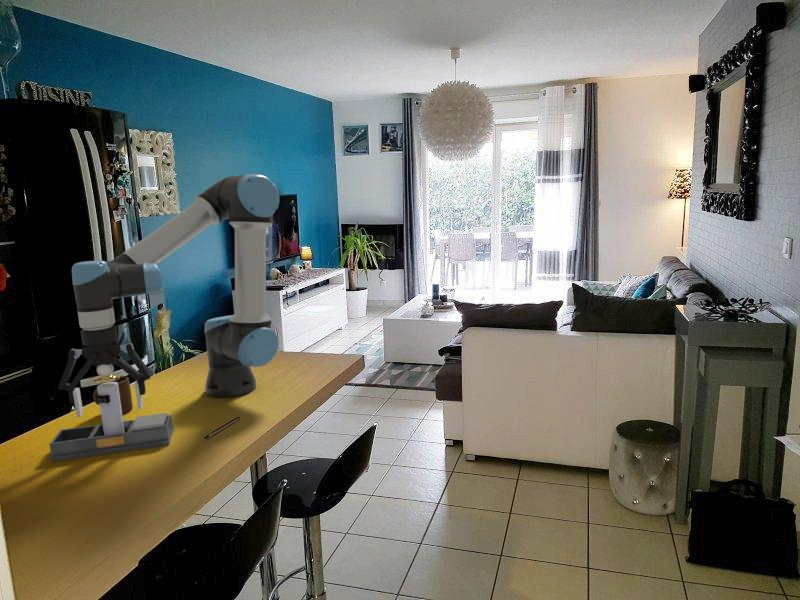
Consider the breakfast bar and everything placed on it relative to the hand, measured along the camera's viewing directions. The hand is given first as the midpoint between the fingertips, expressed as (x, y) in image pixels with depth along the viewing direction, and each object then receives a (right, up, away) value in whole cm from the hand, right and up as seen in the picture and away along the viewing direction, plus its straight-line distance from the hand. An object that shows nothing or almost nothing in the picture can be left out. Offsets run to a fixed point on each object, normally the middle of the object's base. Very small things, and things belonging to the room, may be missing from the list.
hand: (110, 411), depth 141 cm
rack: (0, -9, +2) cm, 9 cm away
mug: (-10, -5, +22) cm, 25 cm away
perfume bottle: (0, -7, +1) cm, 8 cm away
